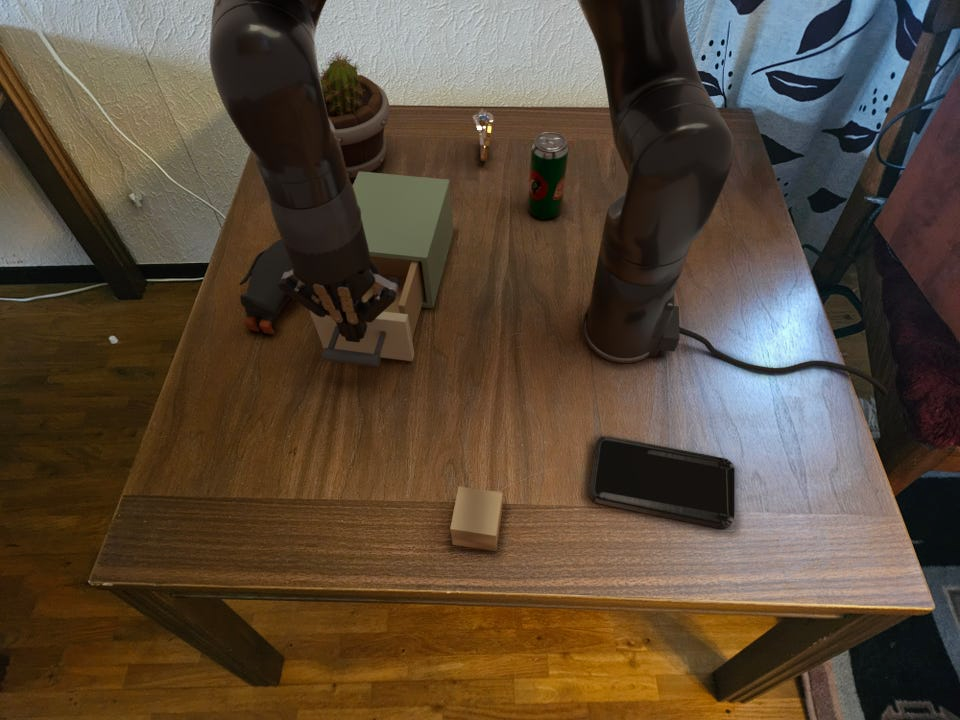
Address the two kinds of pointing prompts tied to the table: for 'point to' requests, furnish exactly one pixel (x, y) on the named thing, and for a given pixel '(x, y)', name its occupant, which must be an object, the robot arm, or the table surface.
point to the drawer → (380, 320)
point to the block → (476, 518)
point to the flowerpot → (356, 115)
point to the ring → (483, 131)
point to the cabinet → (407, 221)
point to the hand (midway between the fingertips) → (355, 335)
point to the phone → (663, 482)
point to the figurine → (265, 288)
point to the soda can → (547, 175)
